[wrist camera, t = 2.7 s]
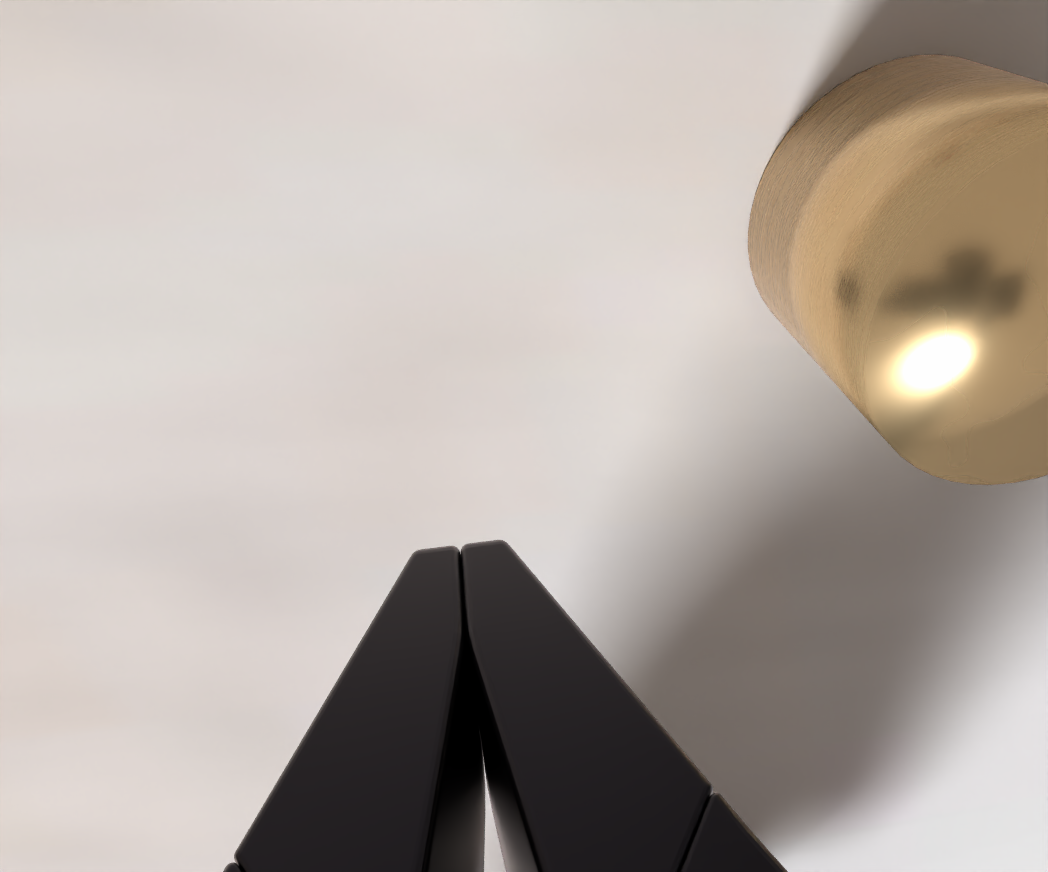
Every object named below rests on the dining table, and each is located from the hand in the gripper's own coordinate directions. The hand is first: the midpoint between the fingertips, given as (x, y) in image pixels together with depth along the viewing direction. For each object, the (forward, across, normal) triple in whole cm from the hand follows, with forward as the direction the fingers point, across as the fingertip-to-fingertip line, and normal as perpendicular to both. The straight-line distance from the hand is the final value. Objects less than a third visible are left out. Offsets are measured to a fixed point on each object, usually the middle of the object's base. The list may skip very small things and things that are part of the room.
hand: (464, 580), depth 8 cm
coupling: (+8, -8, 0) cm, 11 cm away
